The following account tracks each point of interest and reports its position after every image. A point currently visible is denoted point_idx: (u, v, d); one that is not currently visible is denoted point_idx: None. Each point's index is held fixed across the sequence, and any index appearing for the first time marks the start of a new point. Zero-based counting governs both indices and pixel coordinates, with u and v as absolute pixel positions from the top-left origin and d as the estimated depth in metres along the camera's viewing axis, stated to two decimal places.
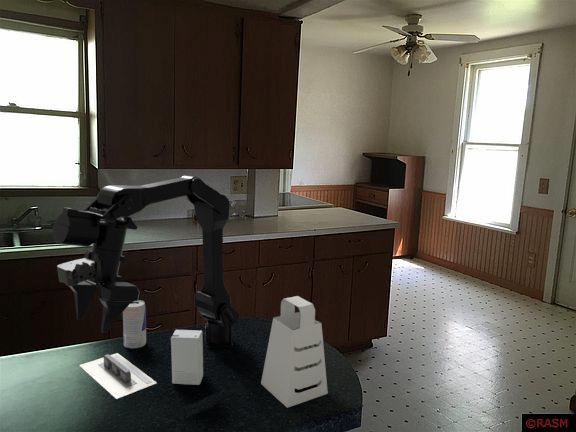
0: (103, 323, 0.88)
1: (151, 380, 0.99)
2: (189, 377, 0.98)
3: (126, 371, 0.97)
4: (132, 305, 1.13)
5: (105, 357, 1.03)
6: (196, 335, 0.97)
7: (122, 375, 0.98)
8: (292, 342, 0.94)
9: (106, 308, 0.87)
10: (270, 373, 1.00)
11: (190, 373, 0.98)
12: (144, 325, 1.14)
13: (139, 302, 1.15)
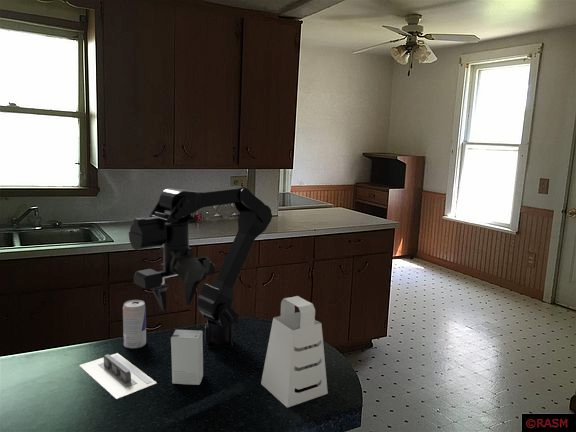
0: (192, 297, 1.12)
1: (151, 380, 0.99)
2: (189, 377, 0.98)
3: (126, 371, 0.97)
4: (132, 305, 1.13)
5: (105, 357, 1.03)
6: (196, 335, 0.97)
7: (122, 375, 0.98)
8: (292, 342, 0.94)
9: (196, 284, 1.11)
10: (270, 373, 1.00)
11: (190, 373, 0.98)
12: (144, 325, 1.14)
13: (139, 302, 1.15)
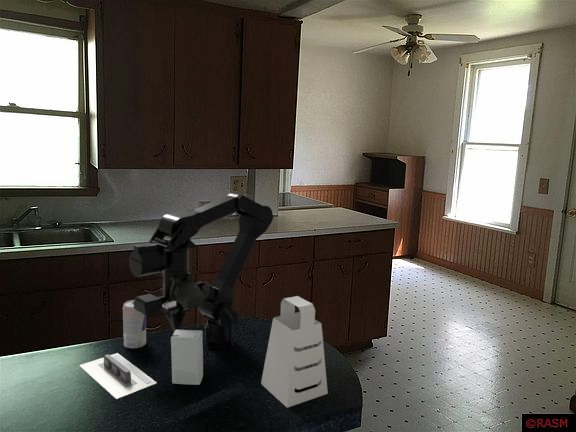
0: (180, 324, 1.10)
1: (151, 380, 0.99)
2: (189, 377, 0.98)
3: (126, 371, 0.97)
4: (132, 305, 1.13)
5: (105, 357, 1.03)
6: (196, 335, 0.97)
7: (122, 375, 0.98)
8: (292, 342, 0.94)
9: (185, 311, 1.10)
10: (270, 373, 1.00)
11: (190, 373, 0.98)
12: (144, 325, 1.14)
13: None
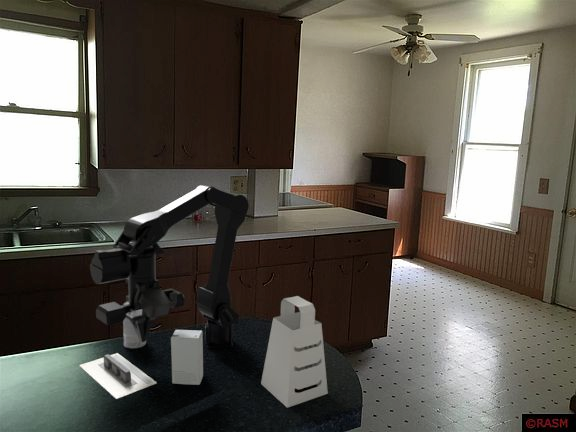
0: (147, 333, 1.04)
1: (151, 380, 0.99)
2: (189, 377, 0.98)
3: (126, 371, 0.97)
4: None
5: (105, 357, 1.03)
6: (196, 335, 0.97)
7: (122, 375, 0.98)
8: (292, 342, 0.94)
9: (152, 320, 1.04)
10: (270, 373, 1.00)
11: (190, 373, 0.98)
12: None
13: None
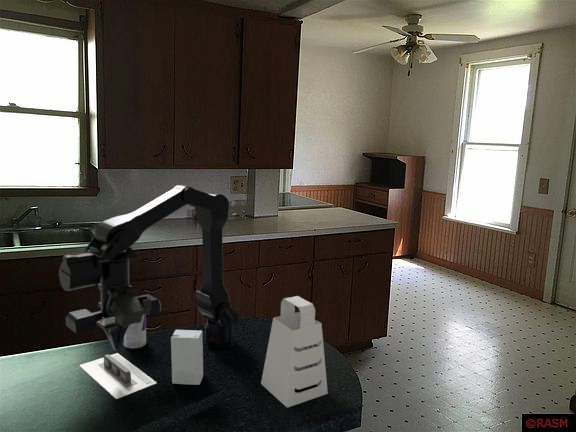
0: (121, 341, 1.00)
1: (151, 380, 0.99)
2: (189, 377, 0.98)
3: (126, 371, 0.97)
4: None
5: (105, 357, 1.03)
6: (196, 335, 0.97)
7: (122, 375, 0.98)
8: (292, 342, 0.94)
9: (126, 327, 0.99)
10: (270, 373, 1.00)
11: (190, 373, 0.98)
12: (144, 325, 1.14)
13: None
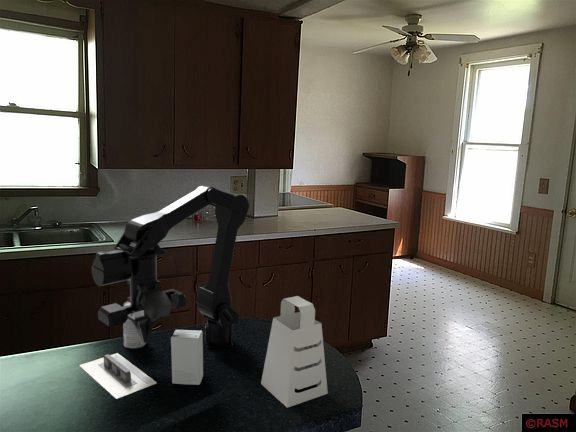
0: (149, 334, 1.05)
1: (151, 380, 0.99)
2: (189, 377, 0.98)
3: (126, 371, 0.97)
4: None
5: (105, 357, 1.03)
6: (196, 335, 0.97)
7: (122, 375, 0.98)
8: (292, 342, 0.94)
9: (154, 321, 1.04)
10: (270, 373, 1.00)
11: (190, 373, 0.98)
12: None
13: None
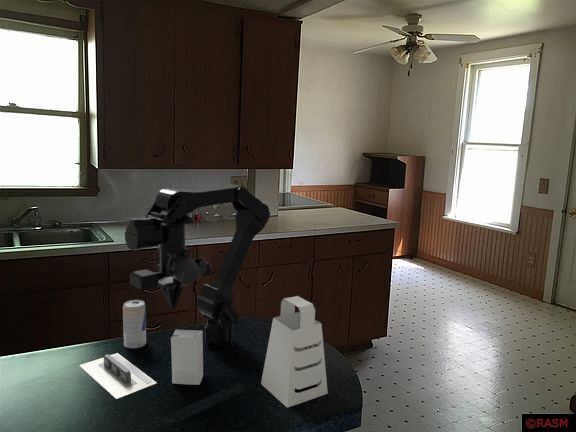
0: (177, 301, 1.09)
1: (151, 380, 0.99)
2: (189, 377, 0.98)
3: (126, 371, 0.97)
4: (132, 305, 1.13)
5: (105, 357, 1.03)
6: (196, 335, 0.97)
7: (122, 375, 0.98)
8: (292, 342, 0.94)
9: (182, 288, 1.08)
10: (270, 373, 1.00)
11: (190, 373, 0.98)
12: (144, 325, 1.14)
13: (139, 302, 1.15)
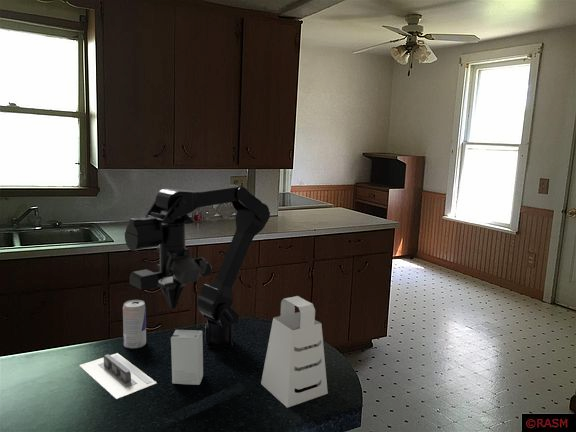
0: (177, 300, 1.09)
1: (151, 380, 0.99)
2: (189, 377, 0.98)
3: (126, 371, 0.97)
4: (132, 305, 1.13)
5: (105, 357, 1.03)
6: (196, 335, 0.97)
7: (122, 375, 0.98)
8: (292, 342, 0.94)
9: (182, 287, 1.08)
10: (270, 373, 1.00)
11: (190, 373, 0.98)
12: (144, 325, 1.14)
13: (139, 302, 1.15)
